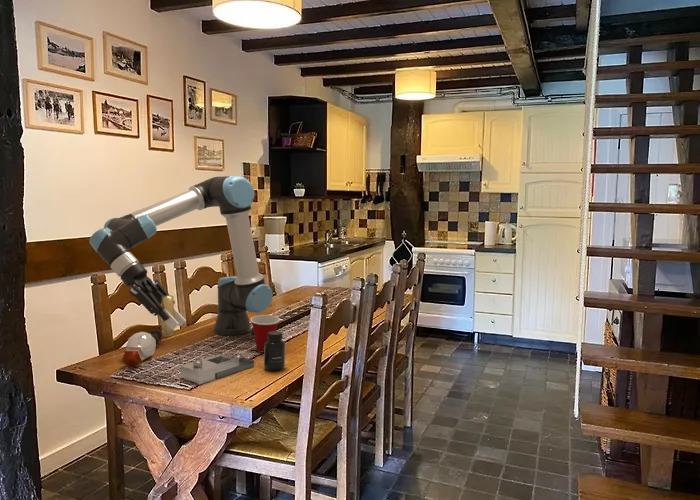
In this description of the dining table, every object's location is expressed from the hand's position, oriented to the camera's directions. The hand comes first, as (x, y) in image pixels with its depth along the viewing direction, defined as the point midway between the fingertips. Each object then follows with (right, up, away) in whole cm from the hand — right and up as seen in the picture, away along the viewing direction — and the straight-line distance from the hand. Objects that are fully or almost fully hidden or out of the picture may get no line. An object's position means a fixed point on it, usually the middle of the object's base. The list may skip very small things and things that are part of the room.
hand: (179, 325), depth 158 cm
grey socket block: (+9, -16, +2) cm, 19 cm away
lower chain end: (+13, -16, +7) cm, 22 cm away
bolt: (-21, -12, +36) cm, 43 cm away
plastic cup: (+22, -14, +29) cm, 39 cm away
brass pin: (-4, -3, +1) cm, 5 cm away
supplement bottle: (+28, -16, +9) cm, 34 cm away
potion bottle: (-18, -15, +14) cm, 27 cm away
